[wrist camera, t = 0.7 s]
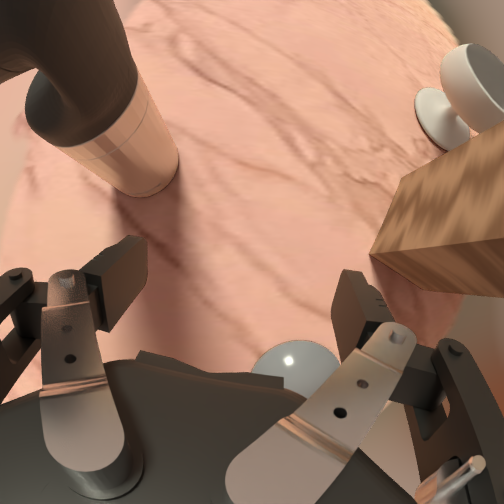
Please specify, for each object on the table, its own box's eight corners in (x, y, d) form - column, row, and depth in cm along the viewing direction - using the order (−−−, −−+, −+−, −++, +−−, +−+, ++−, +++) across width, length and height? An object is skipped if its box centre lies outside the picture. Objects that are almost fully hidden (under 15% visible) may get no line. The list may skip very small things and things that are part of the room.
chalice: (480, 160, 38) (540, 133, 23) (423, 157, 37) (487, 117, 22) (456, 90, 38) (503, 51, 23) (397, 79, 38) (442, 25, 23)
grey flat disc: (236, 355, 35) (236, 357, 34) (331, 327, 35) (332, 328, 35) (262, 434, 34) (262, 436, 33) (348, 407, 35) (349, 409, 34)
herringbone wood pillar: (423, 289, 36) (640, 307, 4) (368, 254, 36) (624, 219, 4) (450, 216, 37) (636, 165, 5) (401, 177, 37) (591, 68, 5)
